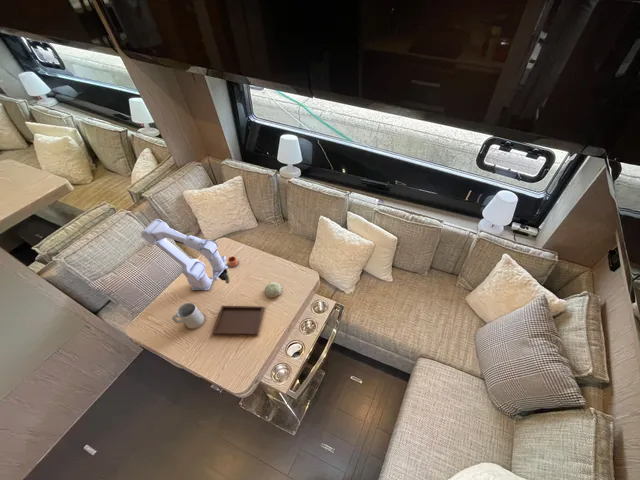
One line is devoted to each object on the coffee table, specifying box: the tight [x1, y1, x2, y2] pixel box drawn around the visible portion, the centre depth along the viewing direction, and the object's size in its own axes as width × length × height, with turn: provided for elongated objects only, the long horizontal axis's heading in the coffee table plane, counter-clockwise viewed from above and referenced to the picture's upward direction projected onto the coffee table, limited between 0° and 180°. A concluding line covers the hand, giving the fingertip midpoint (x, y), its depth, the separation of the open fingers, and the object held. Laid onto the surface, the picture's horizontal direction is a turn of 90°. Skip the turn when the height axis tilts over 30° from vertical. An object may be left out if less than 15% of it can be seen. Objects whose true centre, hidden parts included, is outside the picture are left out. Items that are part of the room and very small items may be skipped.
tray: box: [211, 305, 265, 336], centre depth 141 cm, size 22×16×2 cm
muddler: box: [224, 272, 230, 284], centre depth 147 cm, size 2×2×8 cm
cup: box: [227, 255, 239, 268], centre depth 165 cm, size 5×5×4 cm
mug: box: [171, 302, 205, 329], centre depth 137 cm, size 12×8×11 cm
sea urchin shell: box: [264, 281, 283, 298], centre depth 153 cm, size 9×8×8 cm
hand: (224, 278), depth 147 cm, fingers closed on muddler, 2 cm apart
